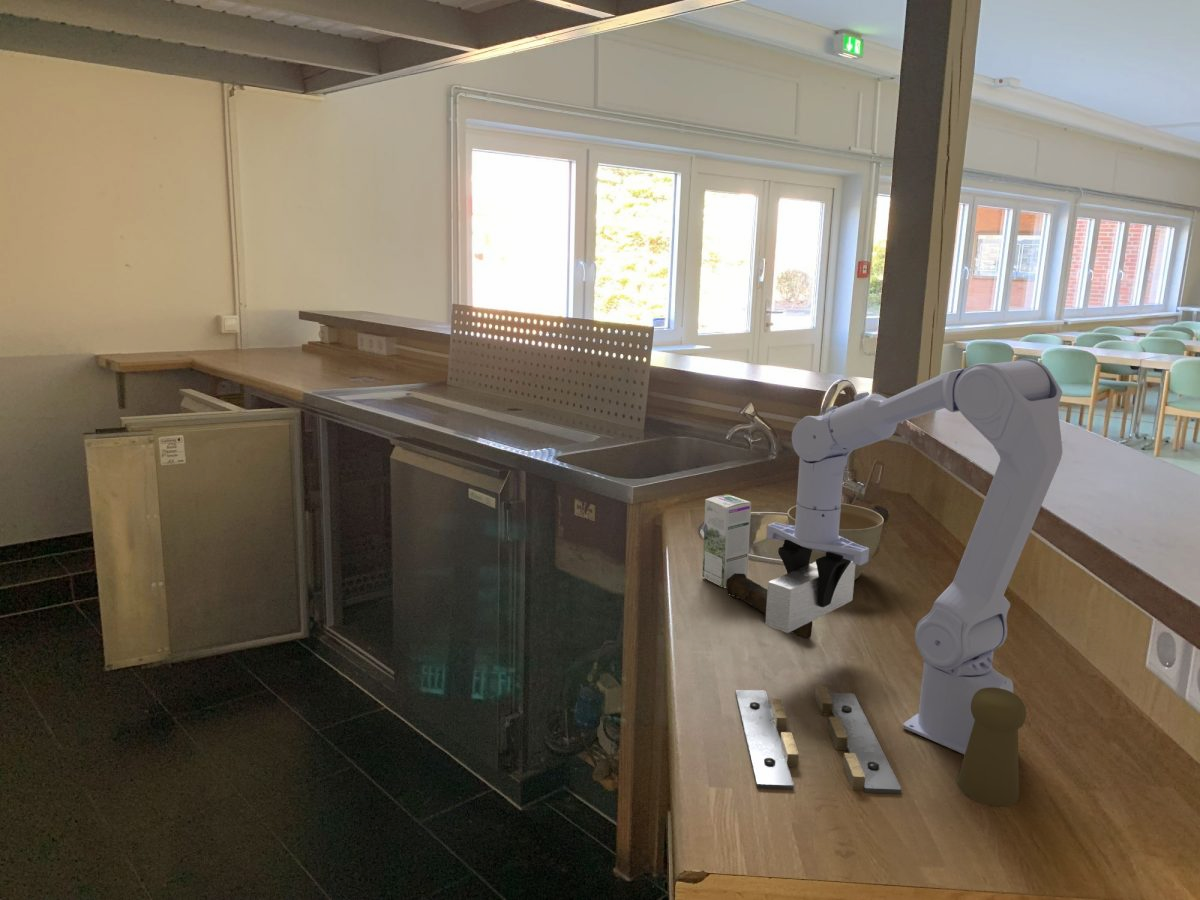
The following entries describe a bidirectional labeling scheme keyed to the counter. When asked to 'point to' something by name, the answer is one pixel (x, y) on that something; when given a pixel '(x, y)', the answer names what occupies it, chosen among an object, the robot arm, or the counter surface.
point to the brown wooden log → (757, 597)
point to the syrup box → (726, 538)
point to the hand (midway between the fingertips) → (811, 600)
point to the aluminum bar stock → (803, 597)
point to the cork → (993, 748)
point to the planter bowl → (853, 530)
